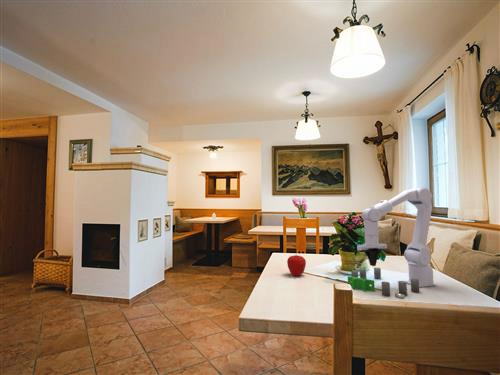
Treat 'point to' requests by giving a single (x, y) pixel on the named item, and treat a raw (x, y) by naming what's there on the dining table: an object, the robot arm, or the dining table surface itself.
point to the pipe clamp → (361, 283)
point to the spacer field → (386, 285)
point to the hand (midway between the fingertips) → (372, 265)
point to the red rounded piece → (296, 265)
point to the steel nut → (399, 295)
